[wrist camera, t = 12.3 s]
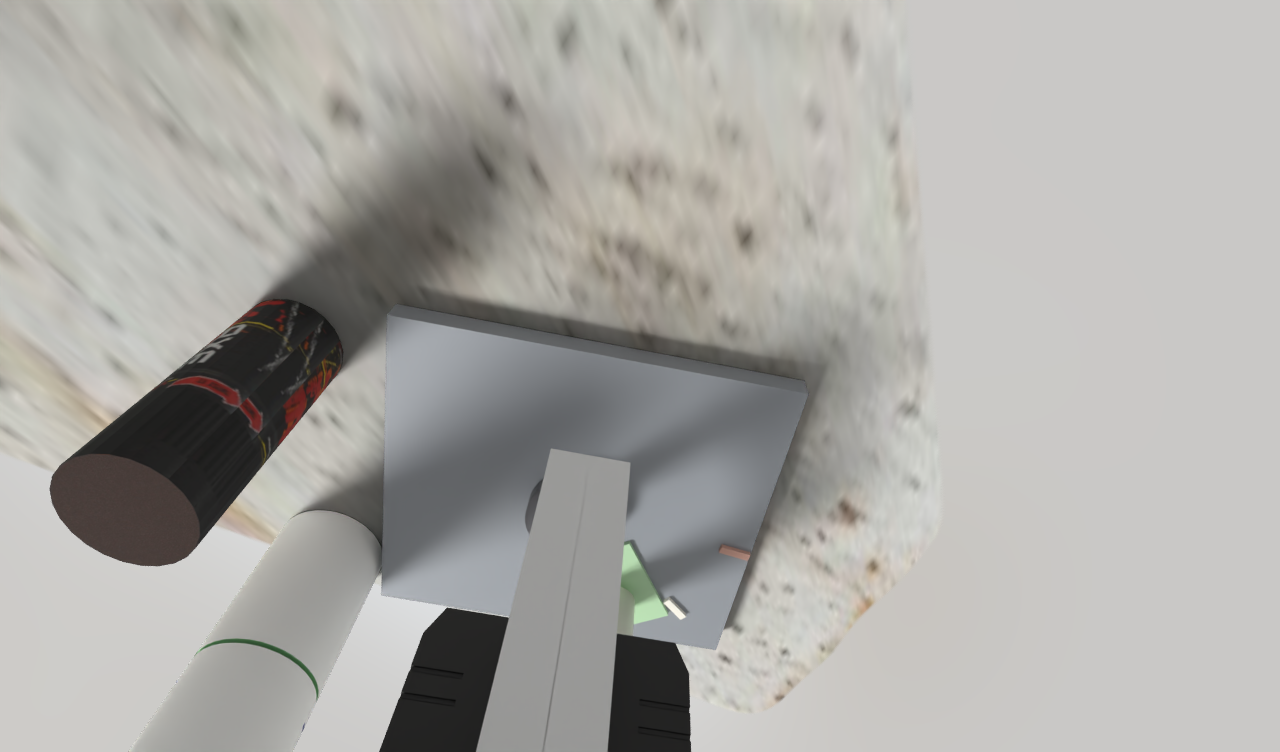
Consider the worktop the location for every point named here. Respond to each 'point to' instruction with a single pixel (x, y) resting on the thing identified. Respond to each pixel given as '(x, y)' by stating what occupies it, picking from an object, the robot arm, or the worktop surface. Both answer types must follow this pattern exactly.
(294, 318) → the deodorant
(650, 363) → the plate
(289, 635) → the cylindrical container
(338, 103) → the worktop surface
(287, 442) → the worktop surface
